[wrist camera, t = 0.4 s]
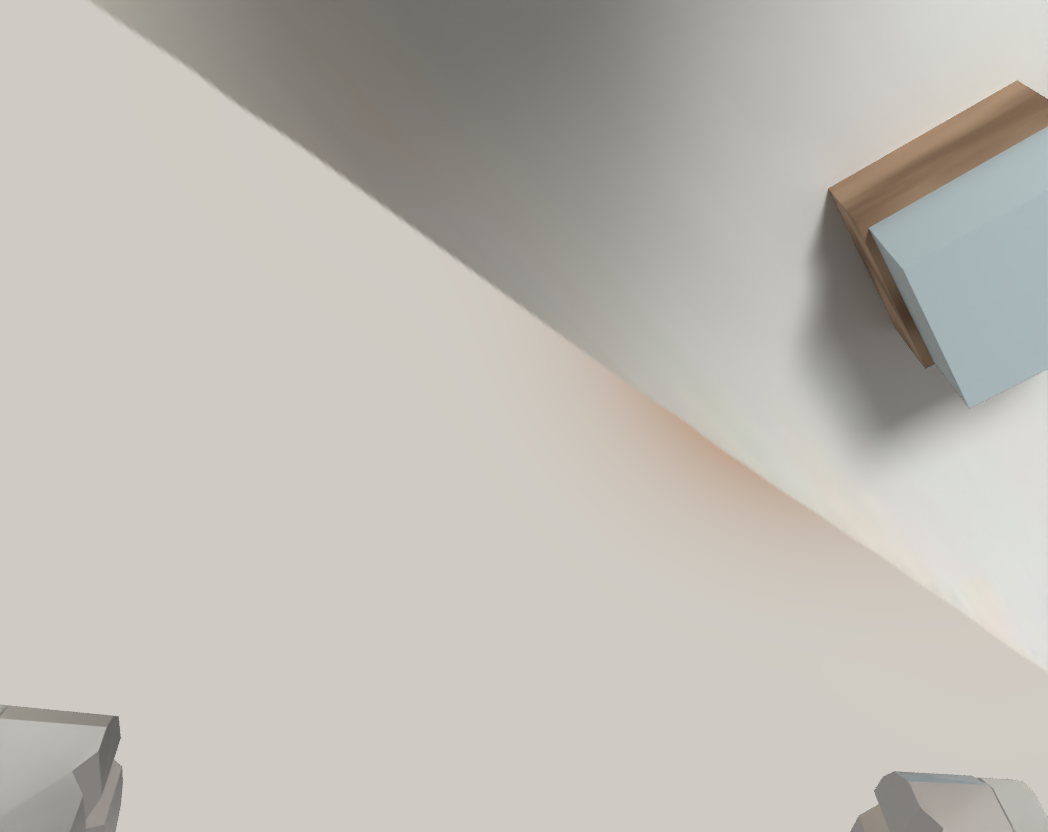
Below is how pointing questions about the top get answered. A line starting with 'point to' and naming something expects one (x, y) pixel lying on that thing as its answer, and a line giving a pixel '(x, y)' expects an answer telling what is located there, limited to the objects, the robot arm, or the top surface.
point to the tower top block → (978, 270)
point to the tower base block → (931, 181)
